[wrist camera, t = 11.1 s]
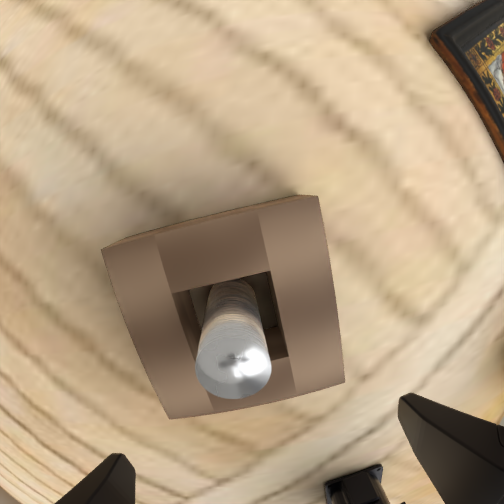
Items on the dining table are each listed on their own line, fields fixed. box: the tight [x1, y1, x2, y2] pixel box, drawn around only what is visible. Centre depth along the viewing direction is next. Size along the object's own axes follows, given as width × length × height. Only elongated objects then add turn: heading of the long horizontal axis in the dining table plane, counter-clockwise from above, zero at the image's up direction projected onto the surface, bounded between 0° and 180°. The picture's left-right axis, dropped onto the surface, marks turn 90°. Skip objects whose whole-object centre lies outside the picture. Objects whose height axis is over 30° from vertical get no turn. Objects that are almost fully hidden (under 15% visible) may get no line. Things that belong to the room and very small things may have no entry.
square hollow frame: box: [101, 195, 345, 419], centre depth 17 cm, size 11×11×4 cm
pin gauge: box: [195, 278, 271, 399], centre depth 15 cm, size 3×3×8 cm
